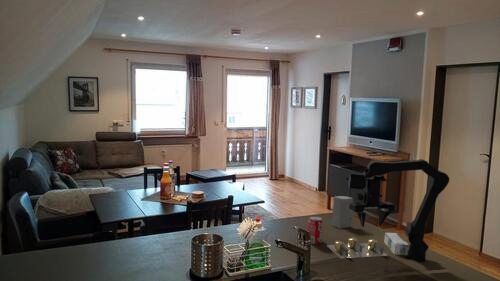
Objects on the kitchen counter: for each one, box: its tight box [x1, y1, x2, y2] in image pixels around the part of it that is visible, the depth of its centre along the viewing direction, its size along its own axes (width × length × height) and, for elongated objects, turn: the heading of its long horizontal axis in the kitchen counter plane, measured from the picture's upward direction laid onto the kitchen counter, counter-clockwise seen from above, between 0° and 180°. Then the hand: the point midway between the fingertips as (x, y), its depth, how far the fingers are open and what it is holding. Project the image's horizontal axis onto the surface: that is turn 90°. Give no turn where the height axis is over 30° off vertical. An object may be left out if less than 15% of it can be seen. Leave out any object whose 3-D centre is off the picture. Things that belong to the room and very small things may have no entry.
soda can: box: [306, 215, 324, 245], centre depth 169 cm, size 7×7×12 cm
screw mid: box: [347, 236, 362, 252], centre depth 161 cm, size 9×4×4 cm, turn 12°
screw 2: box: [367, 238, 384, 254], centre depth 160 cm, size 9×4×4 cm, turn 12°
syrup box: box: [383, 232, 409, 256], centre depth 164 cm, size 6×6×14 cm
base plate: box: [326, 242, 389, 259], centre depth 160 cm, size 14×22×1 cm, turn 102°
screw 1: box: [334, 240, 349, 256], centre depth 156 cm, size 9×4×4 cm, turn 12°
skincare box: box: [331, 195, 354, 230], centre depth 194 cm, size 8×7×16 cm
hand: (371, 226), depth 156 cm, fingers open, 8 cm apart
